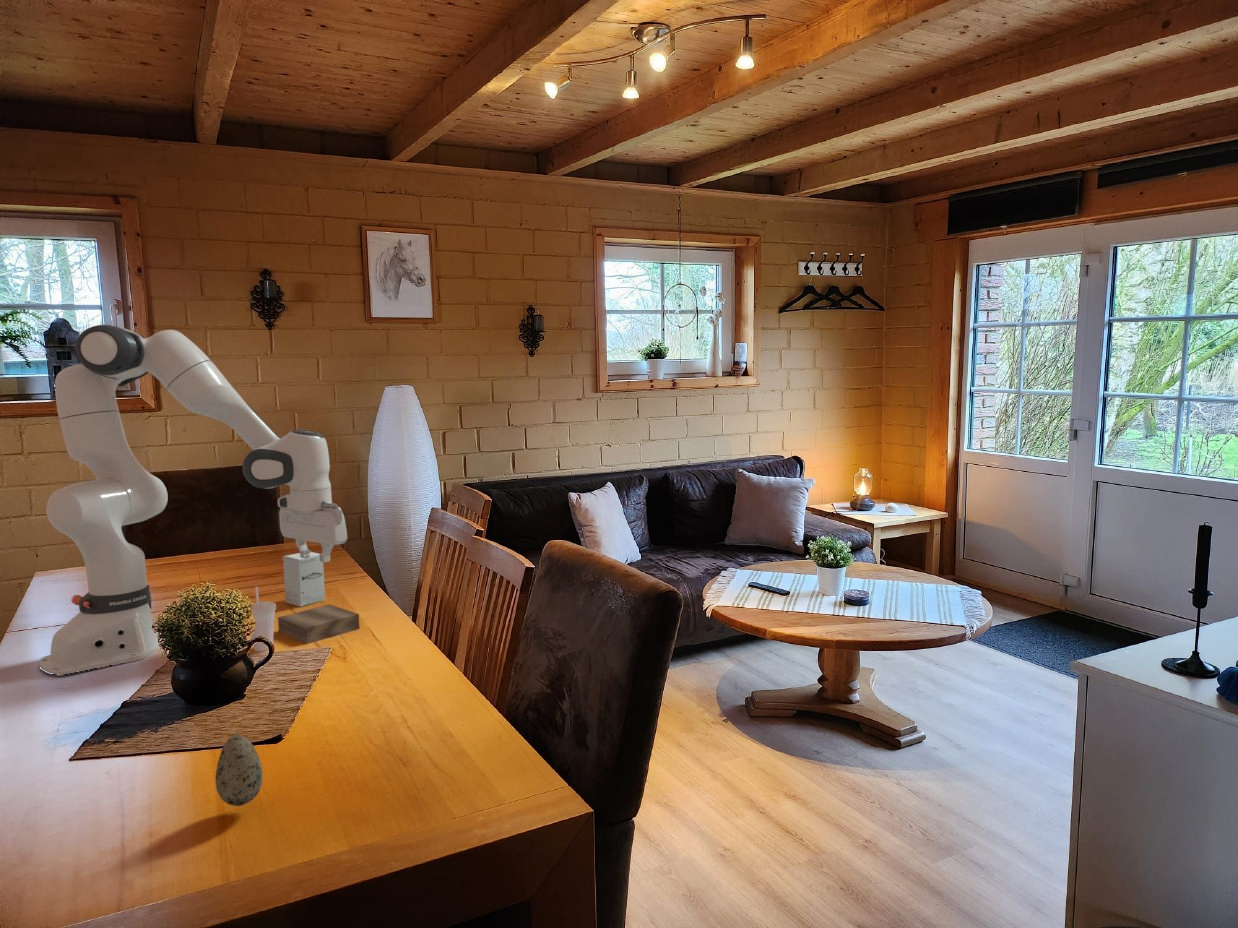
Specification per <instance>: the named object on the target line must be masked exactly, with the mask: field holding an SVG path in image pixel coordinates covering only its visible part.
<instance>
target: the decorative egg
mask: <svg viewBox="0 0 1238 928" xmlns="http://www.w3.org/2000/svg"><path fill="white" fill-rule="evenodd" d="M219 754H220V755H219V756H218V760H217V765H216V770H215V787H216V789H215V790H216V792H217V794H218V796H219V797H220V799H221V800H222V801H223V802H224V803H226V804H227V805H230V806H233V807H241V806H244V805H246V804H249V803H250V802H252V801H253V800H254V799H255V797H257V795H258V794H259V792H260V790H261V788H262V785H263V779H264V774H263V773H264V772H263V765H262V762H261V760H260V757H259V754H258V752H257V749H256V748H255V747H254V745H253V744H252V741H250V739H248V738H247V737H245V736H244V735H242V734H234V735H231V737H229V738H228V739H227V741H225V743H224V745H223V747H222V749H221V751H220V753H219Z"/></svg>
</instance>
